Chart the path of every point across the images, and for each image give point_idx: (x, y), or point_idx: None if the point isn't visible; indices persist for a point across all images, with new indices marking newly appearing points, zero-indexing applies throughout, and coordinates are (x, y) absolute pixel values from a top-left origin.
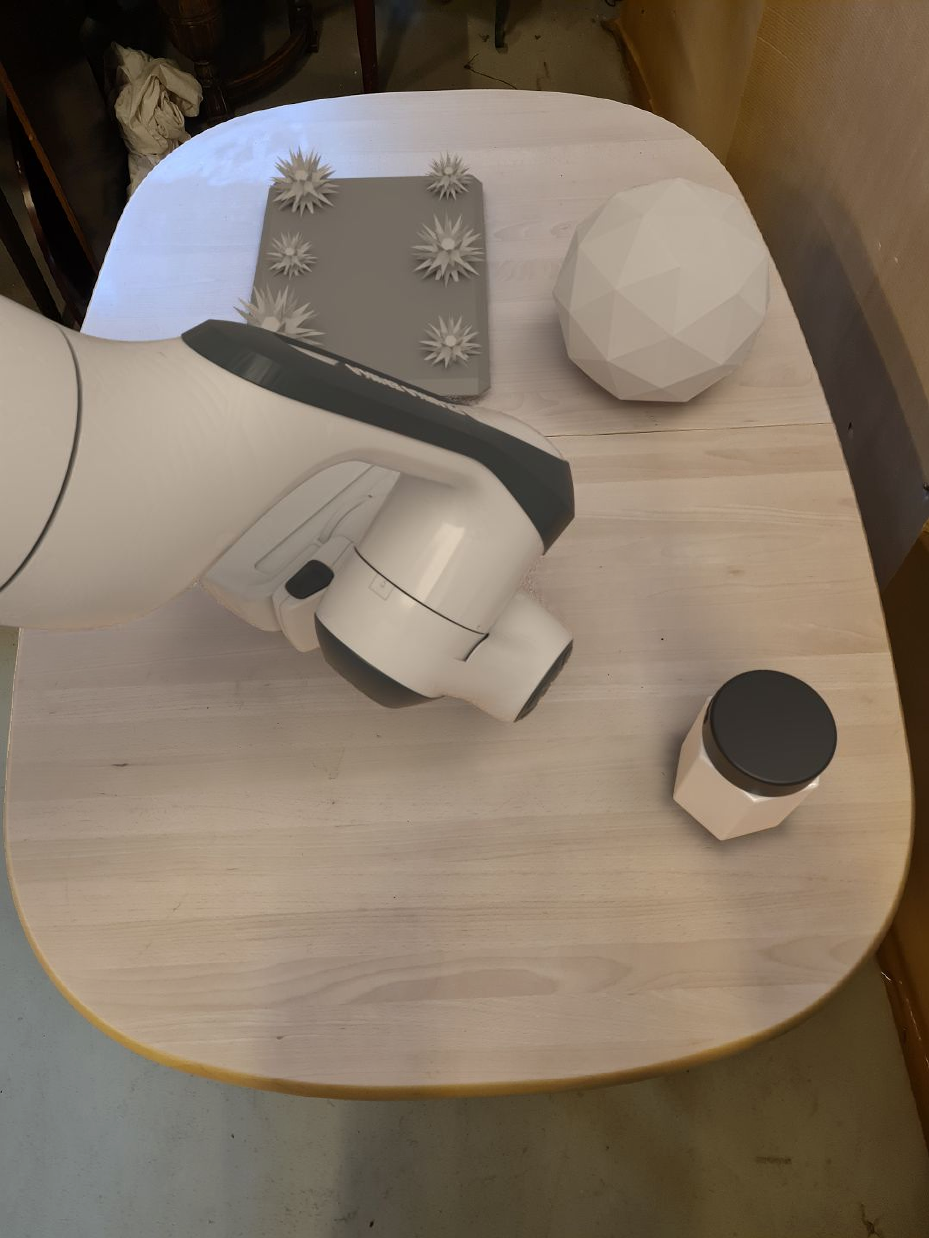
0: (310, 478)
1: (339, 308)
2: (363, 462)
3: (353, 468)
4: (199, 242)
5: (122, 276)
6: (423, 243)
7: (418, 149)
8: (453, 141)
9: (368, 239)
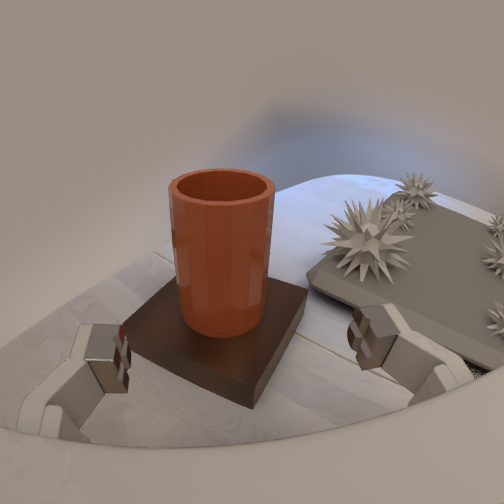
0: (337, 481)
1: (423, 257)
2: (498, 483)
3: (472, 496)
4: (339, 199)
5: (284, 194)
6: (485, 251)
7: (474, 219)
8: (491, 225)
9: (450, 233)
